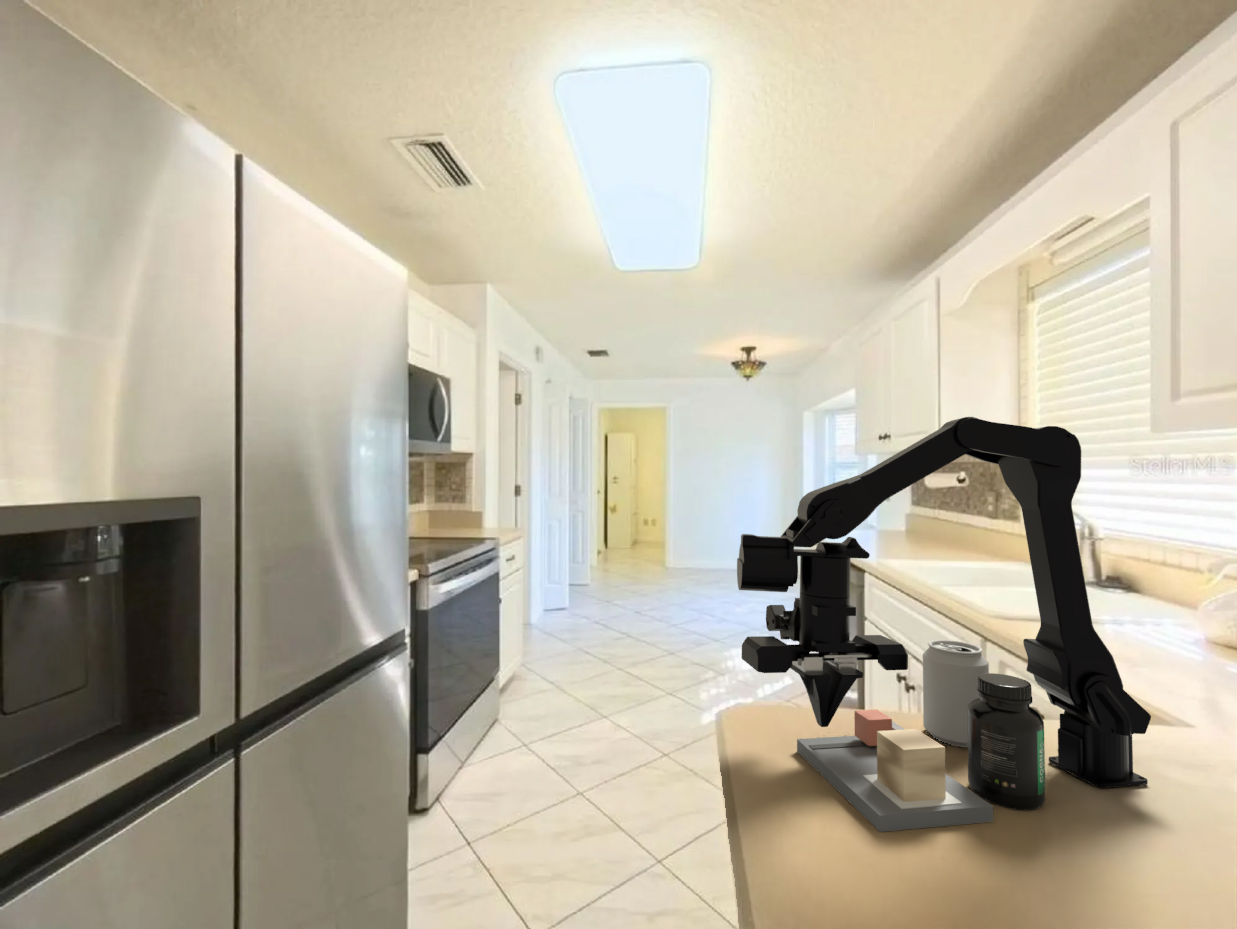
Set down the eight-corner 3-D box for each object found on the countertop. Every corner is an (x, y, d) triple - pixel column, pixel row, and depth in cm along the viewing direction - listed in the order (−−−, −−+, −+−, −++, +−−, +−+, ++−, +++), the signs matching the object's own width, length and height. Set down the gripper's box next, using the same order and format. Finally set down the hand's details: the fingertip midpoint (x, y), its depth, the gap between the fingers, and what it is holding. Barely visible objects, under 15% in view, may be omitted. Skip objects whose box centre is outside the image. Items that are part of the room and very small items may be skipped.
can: (1000, 753, 72) (998, 654, 73) (933, 747, 74) (932, 650, 74) (976, 728, 80) (975, 639, 80) (916, 723, 81) (915, 635, 82)
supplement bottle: (1062, 810, 59) (1060, 689, 60) (1000, 814, 59) (999, 691, 59) (1009, 777, 66) (1008, 669, 67) (953, 780, 65) (952, 670, 66)
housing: (877, 779, 62) (876, 730, 62) (916, 776, 63) (915, 728, 63) (904, 801, 58) (903, 749, 58) (945, 798, 58) (945, 747, 59)
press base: (886, 745, 74) (886, 717, 74) (993, 821, 57) (992, 784, 57) (797, 751, 72) (797, 722, 72) (880, 831, 55) (879, 793, 55)
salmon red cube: (877, 734, 73) (876, 709, 73) (892, 744, 70) (891, 718, 70) (854, 735, 72) (854, 710, 72) (868, 746, 69) (868, 720, 69)
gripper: (858, 583, 80) (857, 699, 80) (727, 582, 77) (724, 703, 77) (911, 598, 69) (910, 733, 69) (761, 599, 66) (758, 739, 66)
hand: (822, 725), depth 70 cm, fingers closed
